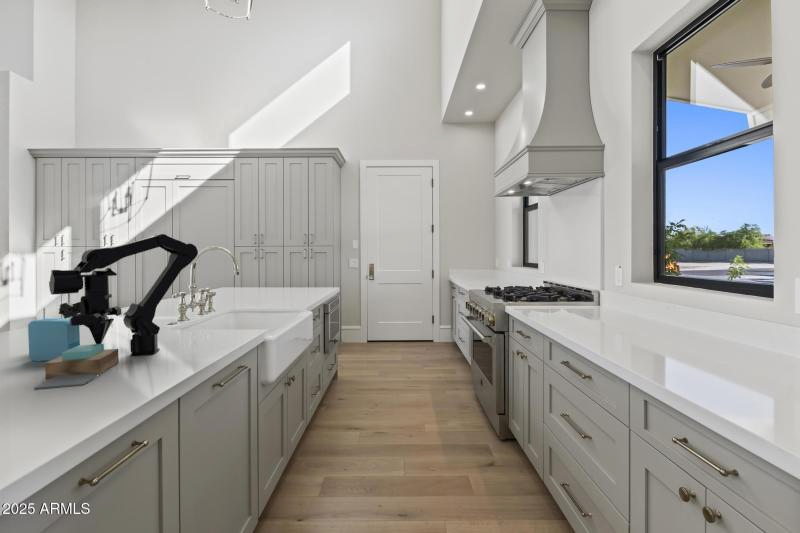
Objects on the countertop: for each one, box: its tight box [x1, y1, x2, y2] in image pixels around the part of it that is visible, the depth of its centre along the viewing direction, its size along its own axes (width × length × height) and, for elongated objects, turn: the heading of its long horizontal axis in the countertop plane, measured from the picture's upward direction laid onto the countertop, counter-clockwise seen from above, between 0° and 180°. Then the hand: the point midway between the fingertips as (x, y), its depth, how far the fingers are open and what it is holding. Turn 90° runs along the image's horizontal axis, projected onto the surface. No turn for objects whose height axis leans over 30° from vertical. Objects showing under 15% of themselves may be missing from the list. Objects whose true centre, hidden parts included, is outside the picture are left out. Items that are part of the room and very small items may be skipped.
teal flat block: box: [62, 343, 105, 361], centre depth 109 cm, size 6×9×2 cm, turn 16°
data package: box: [27, 318, 81, 362], centre depth 120 cm, size 12×4×12 cm, turn 89°
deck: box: [44, 348, 120, 379], centre depth 109 cm, size 12×12×4 cm
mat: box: [33, 373, 101, 390], centre depth 100 cm, size 10×10×1 cm
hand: (98, 344), depth 118 cm, fingers closed
